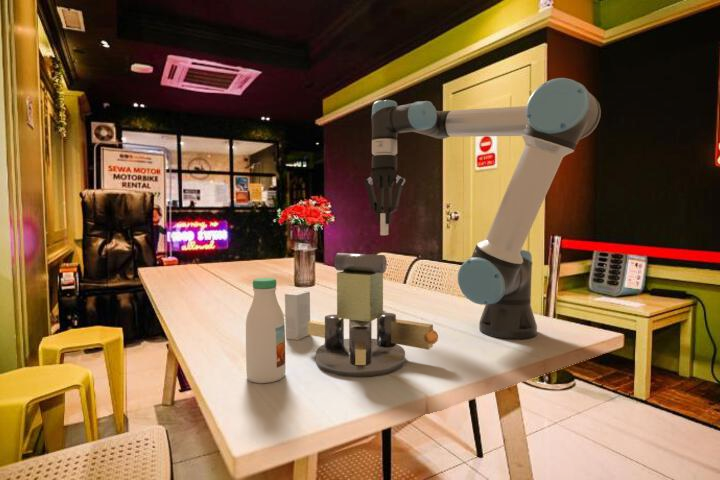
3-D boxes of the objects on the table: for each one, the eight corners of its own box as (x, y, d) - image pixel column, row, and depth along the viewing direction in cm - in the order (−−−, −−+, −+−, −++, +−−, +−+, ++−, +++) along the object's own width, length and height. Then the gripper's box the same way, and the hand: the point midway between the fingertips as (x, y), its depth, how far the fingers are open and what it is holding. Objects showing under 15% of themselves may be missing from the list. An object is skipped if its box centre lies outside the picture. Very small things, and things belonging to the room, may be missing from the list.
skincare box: (297, 332, 117) (297, 289, 117) (310, 334, 115) (310, 291, 115) (284, 338, 112) (284, 293, 111) (298, 340, 110) (297, 295, 109)
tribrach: (417, 353, 100) (417, 251, 99) (378, 389, 79) (378, 262, 78) (328, 339, 111) (328, 248, 109) (274, 369, 90) (272, 256, 88)
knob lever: (373, 345, 98) (373, 315, 98) (382, 340, 102) (382, 311, 101) (433, 356, 90) (434, 324, 90) (441, 351, 94) (441, 320, 94)
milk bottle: (266, 387, 81) (264, 283, 79) (238, 379, 85) (236, 280, 83) (293, 374, 87) (292, 278, 86) (266, 367, 91) (264, 275, 90)
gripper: (359, 155, 125) (359, 235, 126) (400, 152, 119) (400, 236, 121) (369, 158, 132) (369, 234, 133) (409, 155, 126) (409, 234, 127)
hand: (384, 235), depth 127 cm, fingers closed
